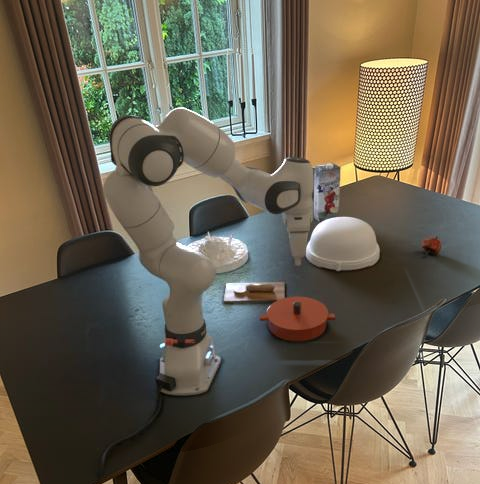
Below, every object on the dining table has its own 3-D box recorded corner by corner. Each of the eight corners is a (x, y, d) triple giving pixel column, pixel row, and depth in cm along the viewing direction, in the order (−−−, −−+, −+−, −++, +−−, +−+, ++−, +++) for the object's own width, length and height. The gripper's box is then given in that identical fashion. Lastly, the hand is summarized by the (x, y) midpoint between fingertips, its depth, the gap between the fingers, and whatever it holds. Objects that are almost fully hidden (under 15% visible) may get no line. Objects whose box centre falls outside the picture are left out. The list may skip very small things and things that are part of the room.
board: (284, 302, 178) (284, 299, 177) (223, 303, 180) (223, 300, 179) (284, 284, 188) (284, 281, 188) (226, 285, 190) (226, 283, 190)
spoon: (274, 287, 185) (274, 281, 183) (274, 294, 181) (274, 287, 179) (234, 287, 186) (233, 281, 185) (233, 294, 182) (232, 288, 181)
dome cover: (377, 275, 190) (380, 241, 182) (299, 269, 198) (299, 236, 190) (381, 240, 215) (384, 209, 208) (312, 236, 223) (312, 206, 215)
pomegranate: (434, 264, 199) (449, 244, 199) (427, 253, 195) (443, 233, 195) (420, 259, 205) (435, 240, 205) (413, 249, 201) (428, 229, 201)
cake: (188, 279, 196) (186, 257, 191) (177, 250, 219) (174, 230, 214) (256, 266, 202) (255, 245, 196) (238, 240, 225) (237, 219, 219)
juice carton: (311, 218, 240) (312, 162, 225) (331, 214, 242) (334, 158, 227) (319, 225, 233) (321, 167, 218) (340, 221, 235) (343, 163, 220)
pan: (337, 342, 156) (337, 330, 154) (259, 342, 158) (258, 331, 156) (331, 309, 172) (332, 298, 170) (261, 310, 174) (260, 299, 172)
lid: (330, 332, 154) (331, 320, 152) (266, 333, 156) (265, 321, 153) (325, 298, 171) (326, 287, 168) (267, 300, 172) (267, 289, 170)
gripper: (286, 201, 153) (286, 243, 160) (286, 228, 136) (287, 273, 143) (306, 201, 152) (306, 242, 160) (310, 228, 135) (309, 272, 143)
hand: (297, 257), depth 151 cm, fingers open, 8 cm apart
